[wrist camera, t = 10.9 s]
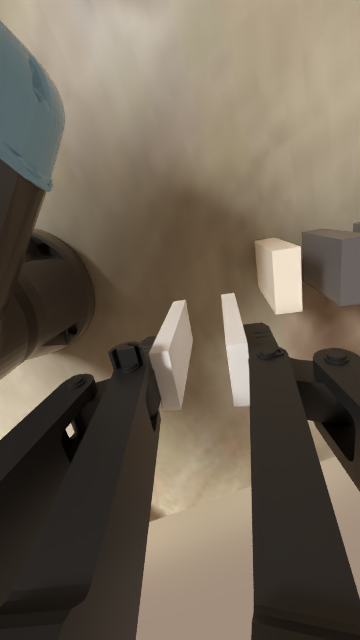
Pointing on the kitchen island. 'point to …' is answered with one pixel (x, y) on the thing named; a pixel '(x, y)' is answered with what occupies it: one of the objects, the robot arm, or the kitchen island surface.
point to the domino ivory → (279, 274)
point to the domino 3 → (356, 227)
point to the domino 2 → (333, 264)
